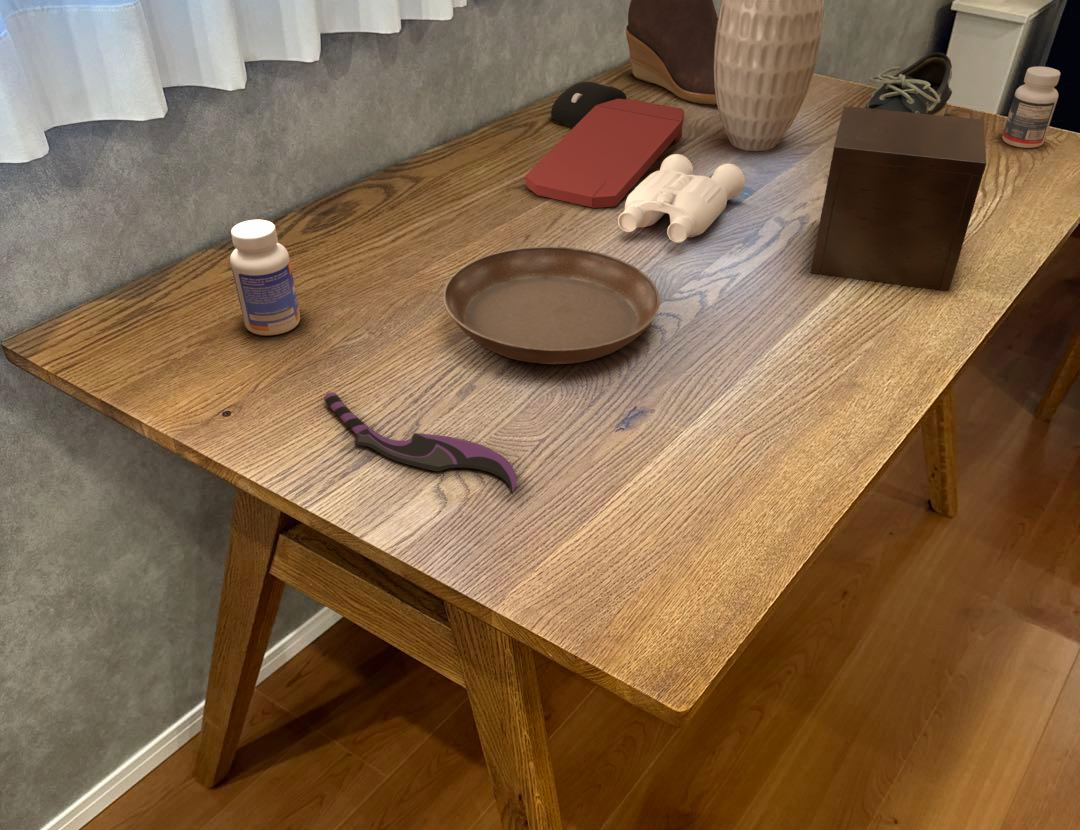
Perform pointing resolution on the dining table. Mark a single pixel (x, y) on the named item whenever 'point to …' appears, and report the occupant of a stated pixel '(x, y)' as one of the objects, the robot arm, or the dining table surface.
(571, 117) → the computer mouse
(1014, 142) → the pill bottle
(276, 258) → the pill bottle
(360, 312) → the dining table surface
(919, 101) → the boat shoe
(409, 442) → the knife
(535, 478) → the dining table surface
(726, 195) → the binoculars
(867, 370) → the dining table surface
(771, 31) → the vase
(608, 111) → the carton
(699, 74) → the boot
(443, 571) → the dining table surface
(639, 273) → the plant saucer
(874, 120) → the dark wooden box
